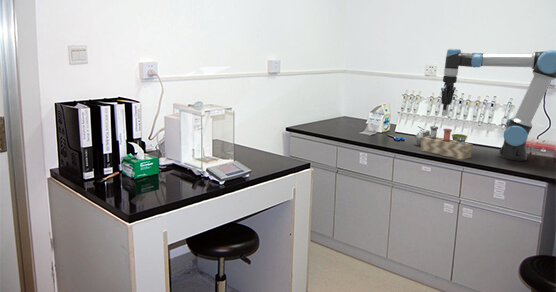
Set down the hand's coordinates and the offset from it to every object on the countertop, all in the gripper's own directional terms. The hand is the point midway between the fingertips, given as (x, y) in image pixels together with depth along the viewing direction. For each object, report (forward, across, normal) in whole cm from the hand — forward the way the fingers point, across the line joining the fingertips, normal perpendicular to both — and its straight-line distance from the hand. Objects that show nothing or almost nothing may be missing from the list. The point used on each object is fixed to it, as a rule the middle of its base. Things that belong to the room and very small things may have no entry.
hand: (444, 115), depth 271 cm
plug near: (+22, 0, +12) cm, 25 cm away
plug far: (+18, -1, -6) cm, 19 cm away
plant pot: (+23, -20, +2) cm, 31 cm away
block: (+23, 0, +3) cm, 23 cm away
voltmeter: (+24, -13, -20) cm, 34 cm away
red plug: (+18, 0, +3) cm, 18 cm away
